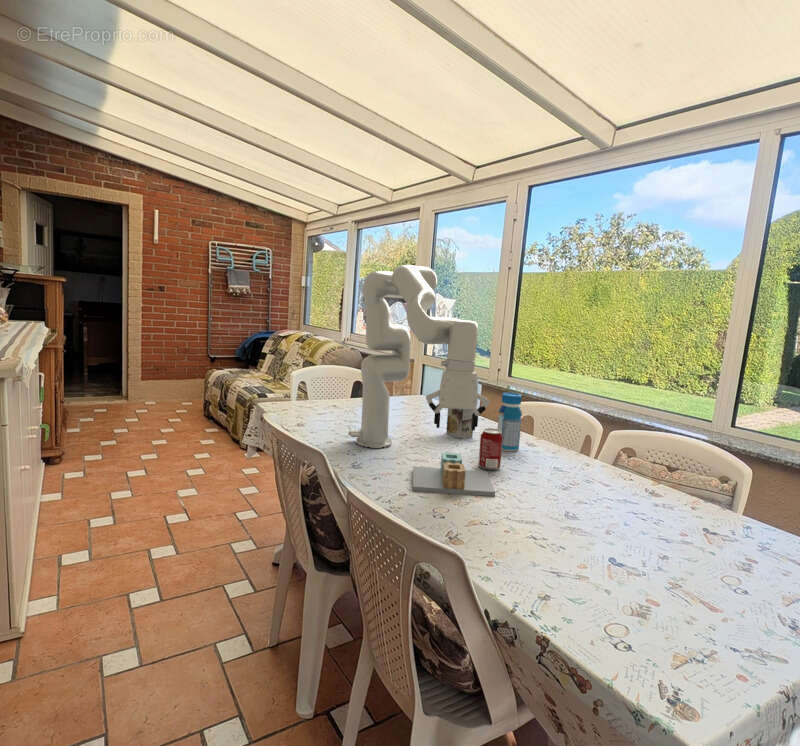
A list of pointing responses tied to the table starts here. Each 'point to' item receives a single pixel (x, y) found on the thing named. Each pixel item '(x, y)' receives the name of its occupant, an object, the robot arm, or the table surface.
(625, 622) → the table surface
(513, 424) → the beverage bottle
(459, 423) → the coffee box
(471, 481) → the board
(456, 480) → the oak gear
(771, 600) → the table surface
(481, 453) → the soda can
